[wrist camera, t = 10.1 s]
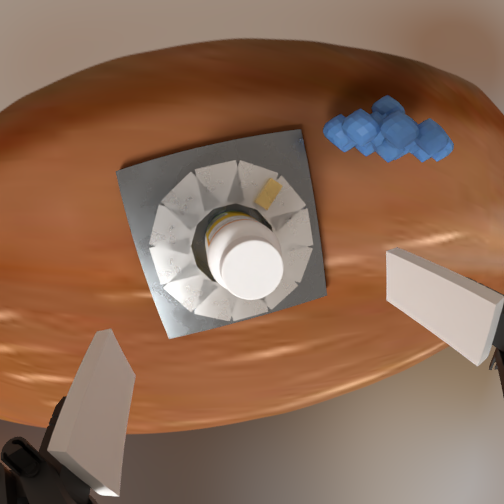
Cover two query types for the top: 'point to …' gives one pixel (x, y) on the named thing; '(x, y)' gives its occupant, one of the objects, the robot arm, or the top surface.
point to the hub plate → (211, 205)
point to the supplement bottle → (243, 255)
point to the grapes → (388, 133)
